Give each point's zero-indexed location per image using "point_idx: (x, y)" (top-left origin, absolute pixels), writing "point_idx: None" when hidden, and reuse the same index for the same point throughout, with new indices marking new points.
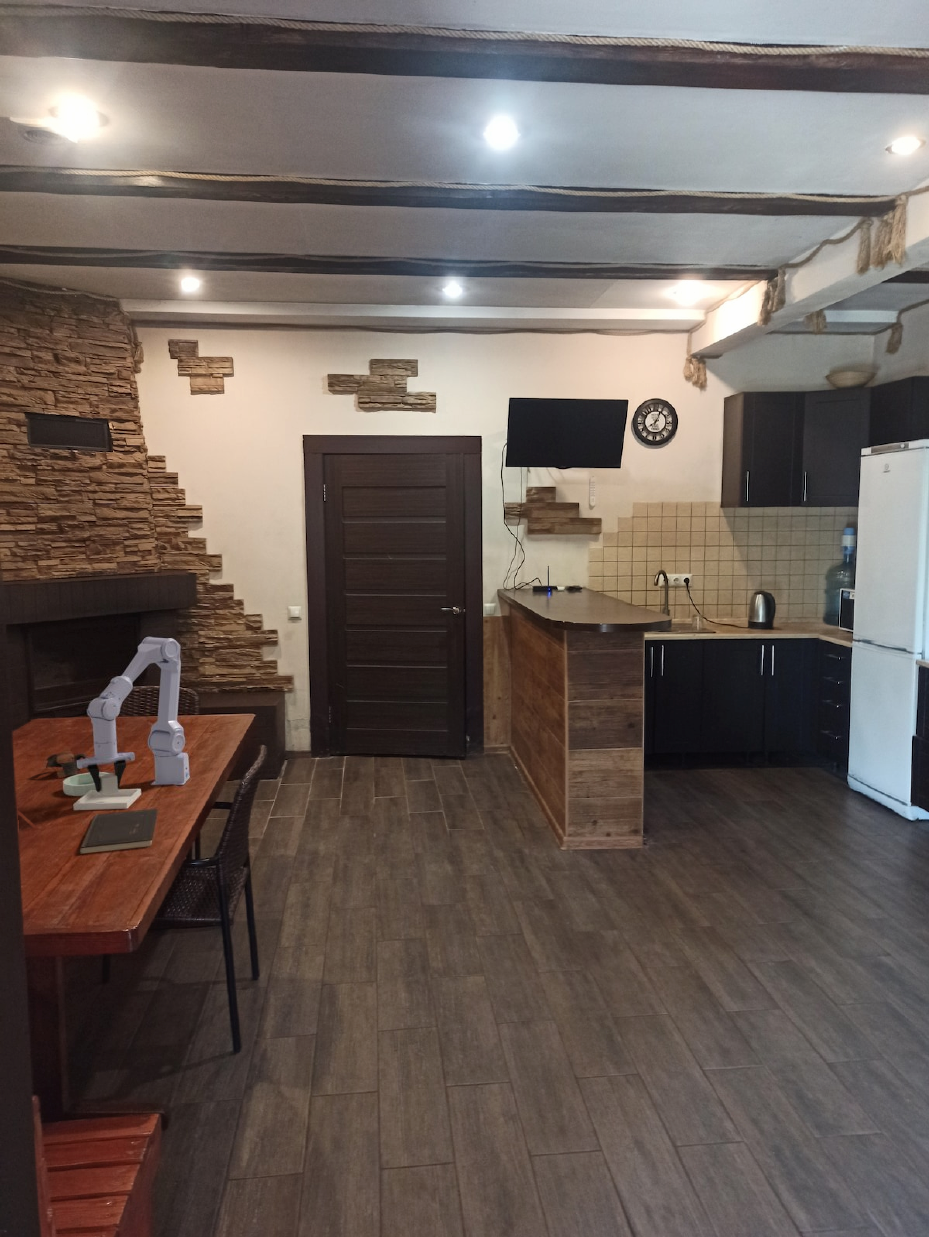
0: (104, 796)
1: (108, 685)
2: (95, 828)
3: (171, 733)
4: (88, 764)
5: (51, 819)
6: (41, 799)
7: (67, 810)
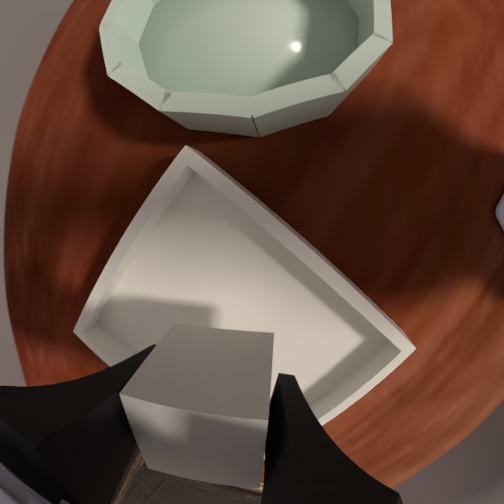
0: (253, 227)
1: None
2: (134, 491)
3: None
4: (8, 477)
5: (41, 322)
6: (66, 55)
7: (77, 273)
